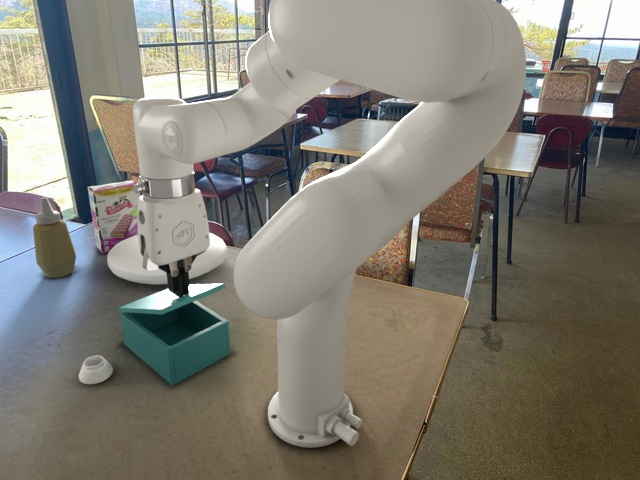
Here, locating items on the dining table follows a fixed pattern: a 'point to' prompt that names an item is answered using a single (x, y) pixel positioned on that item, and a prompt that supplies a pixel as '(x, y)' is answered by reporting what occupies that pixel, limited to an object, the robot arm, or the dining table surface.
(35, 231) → the squeeze bottle
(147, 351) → the box
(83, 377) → the white jar
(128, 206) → the candy bar box
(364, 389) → the dining table surface
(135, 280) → the plate
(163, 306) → the lunchbox lid
